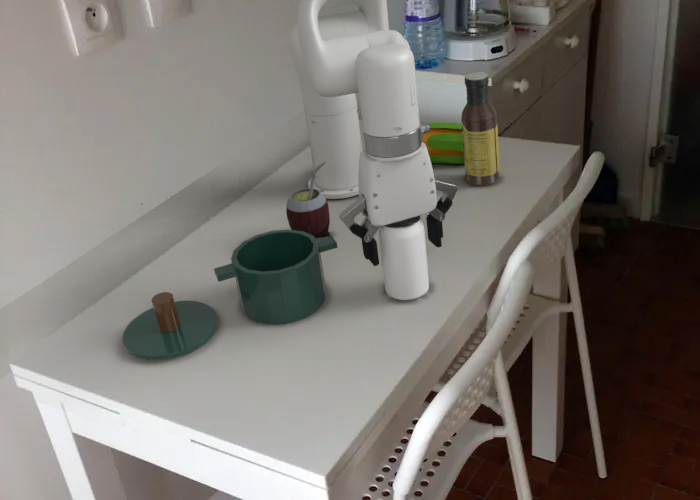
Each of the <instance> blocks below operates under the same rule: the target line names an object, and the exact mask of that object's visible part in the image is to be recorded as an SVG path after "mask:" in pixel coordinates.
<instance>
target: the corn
mask: <svg viewBox="0 0 700 500" xmlns="http://www.w3.org/2000/svg"><path fill="white" fill-rule="evenodd" d="M425 123H426V122H423V123H422V124H425ZM427 123H428V125H429V127H430V132H429V133H426V134H425V135H423V143H425V145H426V147H427V150H428V154H429V157H430V161H431V164H447V165H449V164H457V165H465V163H464V149H463V136H462V123H461V122H444V121H443V122H440V121H439V122H427Z"/></svg>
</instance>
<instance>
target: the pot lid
mask: <svg viewBox="0 0 700 500" xmlns="http://www.w3.org/2000/svg"><path fill="white" fill-rule="evenodd" d="M151 304H152V307H151V308H149V309H146V310H145V311H143V312H141V313H140V314H138V315H137V316H135V318H133V319H132V320H131V321H130V322H129V323H128V324H127V326H126V327H125V329H124V330H123V334H122V343H123V346H124V348H125V350H126V351H127V352H128V353H129V354H130V355H132V356H134V357H136V358H139V359H143V360H152V361H153V360H155V361H156V360H167V359H172V358H176V357H180V356H183V355H186V354H187V353H189V352H193V351H195V350H196V349H198V348H199V347H201V346H202V345H204V344H205V343H206V342H208V341H209V340H210V339H211V338H212V337H213V335H214V334H215V333H216V331H217V328H218V326H219V318H218V315H217V314H218V313H217V312H216V310H215V309H214V308H213V307H212V306H210V305H209V304H207V303H204V302H201V301H197V300H175V297H174V296H173V293H171V292H168V291H163V292H159V293H157V294H155V295H153V297H152V298H151Z"/></svg>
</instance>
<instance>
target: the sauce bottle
mask: <svg viewBox="0 0 700 500" xmlns="http://www.w3.org/2000/svg"><path fill="white" fill-rule="evenodd" d="M489 82H490V81H489V74H488V73H487V72H484V71H483V72H482V71H477V72H476V71H474V72H470V73H468V74H466V75H465V76H464V85H465V88H466V104H465V106H464V108H463V109H462V112H461V124H462V136H463V149H464V163H465V164H464V171H465V179H466V181H467V182H468V183H470V184H471V185H473V186H490V185H493V184H494V183H497V182H498V180H499V178H500V169H501V167H500V150H499V149H500V147H499V146H500V145H499V134H498V133H499V128H498V122H497V121H498V120H497V119H498V118H497V110H496V107H495V106H494V105H493V104H492V102H491V100H490V95H489Z"/></svg>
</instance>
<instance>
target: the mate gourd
mask: <svg viewBox="0 0 700 500" xmlns="http://www.w3.org/2000/svg"><path fill="white" fill-rule="evenodd" d="M324 164H325V162H323V163H322V164H320V165H319V166H317V167H316V168H315V169H314V168H313V171H311V174H310V178H311V185H310V188H308V187H307V188H301V189H297V190H295V191H293V192H292V193H291V194H290V195H289V196H288V198H287V200H286V204H285V205H286V210H285V211H286V212H285V213H286V218H287V222H288V225H289V228H290V230H296V231H304V232H306V233H308V234H310V235H313V236H314V237H315V239H321V238H324V237H328V236H331V232H330V231H329V229H330V222H331V219H330V217H331V215H330V208H329V207H330V206H329V203H328V199H326V197H325V196H324V195H323V194H322V193H321V192H320V191H319V190H317V189H313V187H314V181H315V178H316V175H317V173H316V172H317V171H318V170H319V169H320V168H321V167H322V166H323V165H324Z"/></svg>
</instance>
